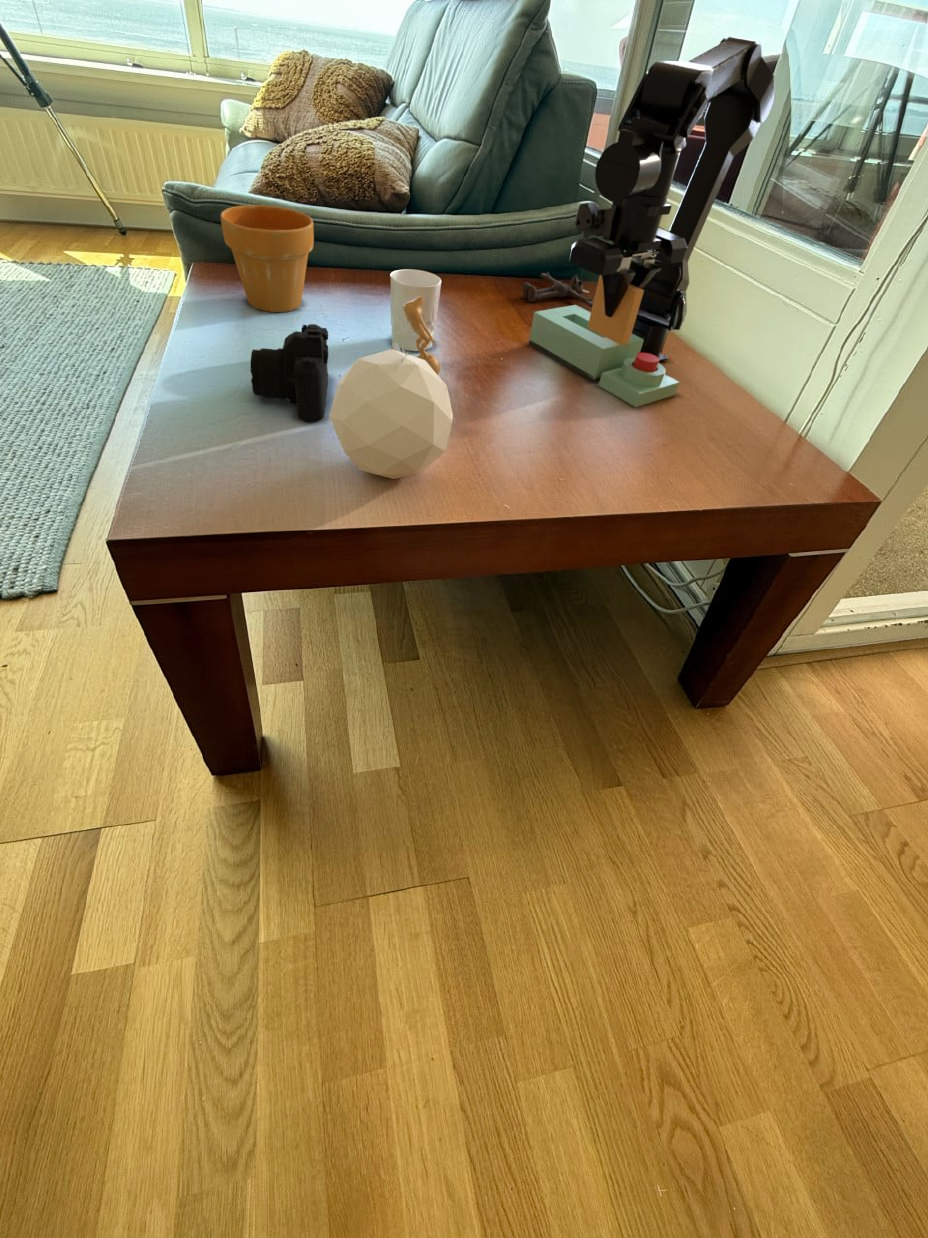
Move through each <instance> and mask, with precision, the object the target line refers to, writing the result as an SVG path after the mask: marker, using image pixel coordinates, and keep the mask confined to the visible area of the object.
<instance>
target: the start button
mask: <svg viewBox="0 0 928 1238" xmlns="http://www.w3.org/2000/svg"><path fill="white" fill-rule="evenodd" d="M658 363H660V362H659V358H658V357H656V356H655V355H652V354H649V353H638V354H637V355H636V357H635V361H634V364H633V367H635V368H636V369H638V370H641V371H645V372H655V371H656V368H657V365H658Z"/></svg>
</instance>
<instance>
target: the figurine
mask: <svg viewBox="0 0 928 1238" xmlns="http://www.w3.org/2000/svg"><path fill="white" fill-rule="evenodd" d="M423 304H424V302H423V298H422V297H421V296H419V297H418V298H416V299H415V300H413V301H410V302H407V303H406V304H405V305H404V306H403V309H404V312H405V314H406V316H407V320H409V321H410V323H411V326H412V328H413V330H414V332H416V333H417V334H418V335H419V336H420V338H418V339H417V341H416V343H417V348H418V350H419V351H418V352H419V354H418V355H417V356H416V357H417V358H420V359H423V360H425V361H426V362H427V363H428V364H429V365H430V367H431V368H432V369H433V370H434V371H435V373H436V374H437V375H438V376H439V374H440V370H441V364H440V361H439V359H438V358H437V356H435V355H434V354H432V353H429V352H427V350H424V348H426V346H427V345H428V344H429V342H430V340H431V342H432V344H433V346H435V344H436V342H435V337H434V338H433V337H432V336H431V334H430V332H429V330H428V329H427V328H426V325H425V323H424V322H423V319H422V310H421V307H422V305H423ZM409 321H408V322H409ZM421 325H422V327H423V328H422V327H421ZM423 329H424V330H425V331H424V330H423ZM422 340H424V341H425V343H423V344H422V345H421V347H420V345H419V344H420V343H421V342H422Z"/></svg>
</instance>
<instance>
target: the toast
mask: <svg viewBox="0 0 928 1238" xmlns="http://www.w3.org/2000/svg"><path fill="white" fill-rule="evenodd" d="M643 292H644V290H642V289H640V288H638V287H636V286H633V285H631V284H630V285H629V286H628V288H627V290H626V292H625V294H624V296H623V298H622V300H621V302H620V304H619V306H618V308H617V309H616V311H615V313H614V314H613V316H612V317H608V316H606V315H605V304H604V288H603V280H602V275H599V278H598V282H597V287H596V290H595V295H594V298H593V301H592V302H593V306H592V307H591V311H590V312H591V315H590V319H589V323H588V327H587V328H589V329H591V330H592V331H594V332H596V333H598V334H600V335H602V336H604V337H606V338H608V339H610V340H612V341H614V342H616V343H618V344H620V345H624V344H628V343H629V340H630V337H631V333H632V330H633V327H634V323H635V320H636V319H637V318H636V316H637V313H638V309H639V306H640V303H641V299H642V296H643Z"/></svg>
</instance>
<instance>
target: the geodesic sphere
mask: <svg viewBox="0 0 928 1238" xmlns="http://www.w3.org/2000/svg"><path fill="white" fill-rule="evenodd" d="M391 345H392V348H390V349H386V350H383V351H379V352H377V353H373V354H369V355H365V356H362V357H359V358H357V359H356V360H355V361H354V362H353V364H352V365H350V367H348V369H347V371H345V373H344V374H343V375H342V376H341V378H340V379H339V380H338V382H337V385H336V388H335V393H334V397H333V401H332V403H331V404H332V405H331V408H330V412H329V415H328V418H329V420H330V422H331V424H332V426H333V429H334V431H335V434H336V435H337V439H338V441H339V443H340V445H341V448H342V450H343V452H344V454H345V455H346V456H347V457H348V458H349V459H350V460H351V461H352V463H354V465H355V466H357V467H358V468H359V470H360V471H361V472H365V473H369V474H371V475H377V476H381V477H384V478H389V479H392V480H396V479H400V478H404V477H408V476H413V475H417V474H419V473H421V472H422V471H425V470H426V469H427V468H428V467H429V466H430V465H431V464H433V463H434V462H435V461H436V460H437V459H438V458H440V457H441V456H442V455H443V454H444V453H445V452H446V451H447V447H448V441H449V438H450V433H451V428H452V425H453V424H452V423H453V419H454V414H453V410H452V409H453V408H452V404H451V399H450V394H449V390H448V386H447V385H446V383H445V382H444V381H443V380H442V379H441V377H440V376H439V374H438V375H437V374H436V373H435V371H434V370H433V369H432V368H431V367H430V365H429V364H428V363H427V362H426V361H425V360H423V359H420V358H417V356H414V355H410V354H408V353H409V350H406V348H405V349H403V345H402V348H400V347H399V344H398V343H397V345H396V343H394V344H393V342H391Z"/></svg>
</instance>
